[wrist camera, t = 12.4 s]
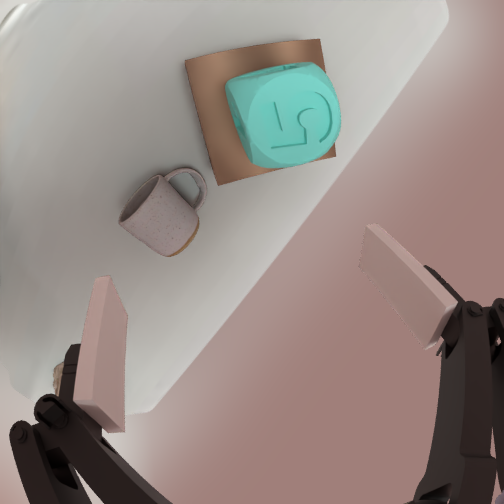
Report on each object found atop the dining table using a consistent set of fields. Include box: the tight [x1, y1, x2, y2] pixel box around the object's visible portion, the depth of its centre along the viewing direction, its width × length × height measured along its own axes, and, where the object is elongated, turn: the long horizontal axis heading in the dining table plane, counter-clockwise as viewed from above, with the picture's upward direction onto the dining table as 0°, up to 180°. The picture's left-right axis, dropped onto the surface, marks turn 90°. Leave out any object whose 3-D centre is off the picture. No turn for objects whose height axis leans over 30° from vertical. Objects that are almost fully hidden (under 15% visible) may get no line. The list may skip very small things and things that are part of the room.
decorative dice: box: [225, 62, 341, 168], centre depth 25 cm, size 8×8×8 cm
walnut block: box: [185, 39, 336, 186], centre depth 30 cm, size 14×14×6 cm
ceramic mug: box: [119, 168, 207, 257], centre depth 34 cm, size 10×8×7 cm
